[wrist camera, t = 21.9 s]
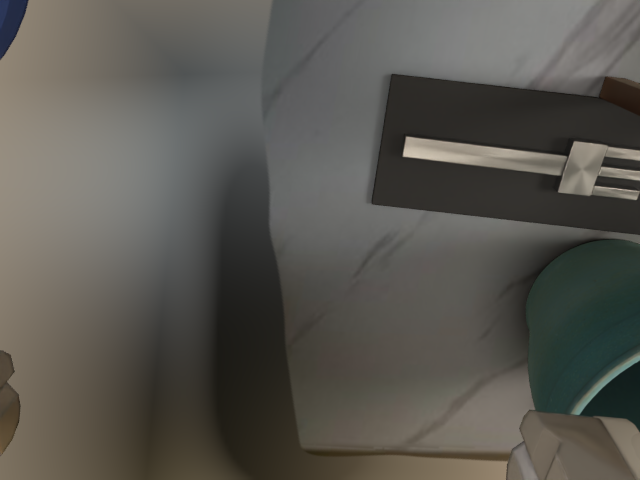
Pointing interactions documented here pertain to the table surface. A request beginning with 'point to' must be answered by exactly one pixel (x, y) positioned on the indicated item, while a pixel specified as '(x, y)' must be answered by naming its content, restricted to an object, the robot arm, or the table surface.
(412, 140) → the fork
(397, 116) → the mat
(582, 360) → the flower pot
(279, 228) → the table surface
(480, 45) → the table surface
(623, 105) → the stand
